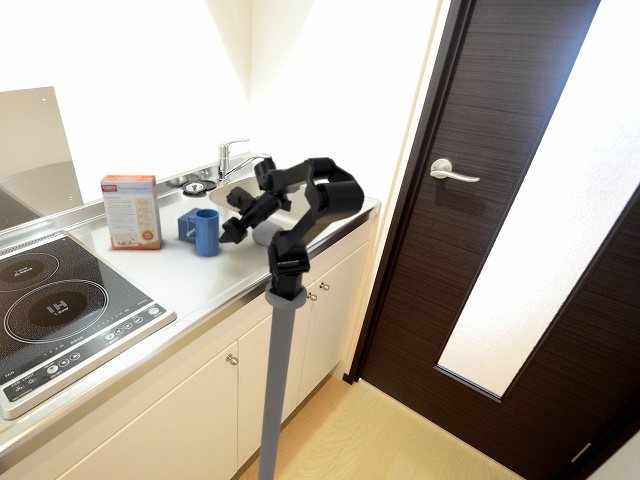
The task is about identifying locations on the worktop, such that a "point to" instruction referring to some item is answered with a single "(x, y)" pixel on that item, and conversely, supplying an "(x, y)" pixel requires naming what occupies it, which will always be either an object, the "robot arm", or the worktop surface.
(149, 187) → the cracker box
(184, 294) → the worktop surface
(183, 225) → the slate-blue box
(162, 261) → the worktop surface
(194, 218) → the blue mug
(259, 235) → the grey cylinder
